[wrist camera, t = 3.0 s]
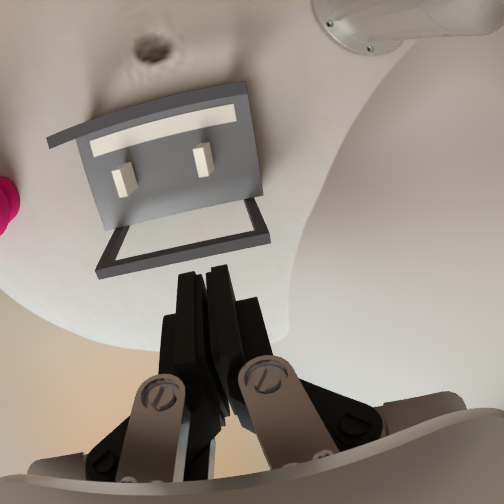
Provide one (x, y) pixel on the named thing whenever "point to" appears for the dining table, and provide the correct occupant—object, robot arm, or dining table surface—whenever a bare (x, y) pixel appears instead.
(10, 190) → the pepper mill
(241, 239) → the dark grey open frame
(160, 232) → the dining table surface
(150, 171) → the breaker panel
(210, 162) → the cream cuboid
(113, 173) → the paddle
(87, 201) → the dining table surface
